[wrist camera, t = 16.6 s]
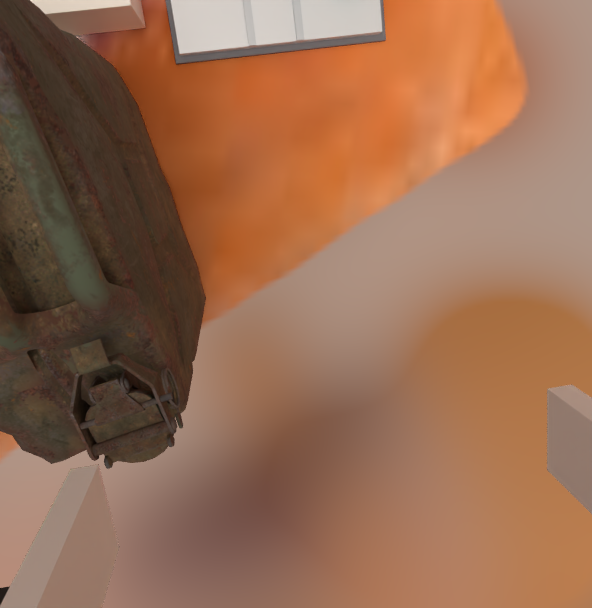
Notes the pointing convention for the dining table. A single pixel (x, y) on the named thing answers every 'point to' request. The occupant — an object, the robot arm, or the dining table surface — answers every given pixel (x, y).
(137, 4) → the tub
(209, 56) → the mat
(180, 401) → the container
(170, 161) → the dining table surface
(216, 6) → the lid
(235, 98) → the dining table surface
